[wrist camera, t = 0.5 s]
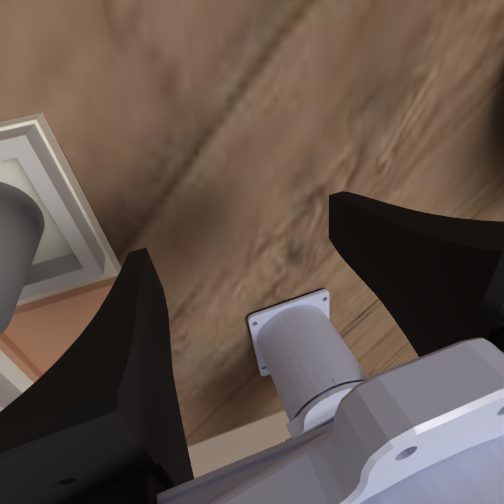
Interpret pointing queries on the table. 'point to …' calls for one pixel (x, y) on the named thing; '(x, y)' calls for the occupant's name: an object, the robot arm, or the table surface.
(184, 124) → the table surface
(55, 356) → the white cylinder holder tray
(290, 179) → the table surface
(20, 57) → the table surface
